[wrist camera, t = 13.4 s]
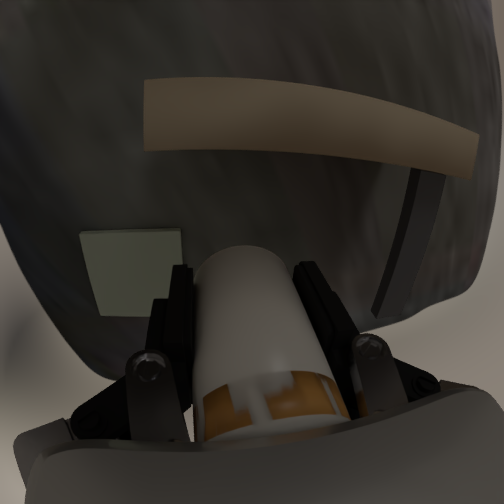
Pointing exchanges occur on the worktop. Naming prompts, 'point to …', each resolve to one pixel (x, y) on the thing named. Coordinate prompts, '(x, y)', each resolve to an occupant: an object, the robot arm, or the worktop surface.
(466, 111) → the worktop surface
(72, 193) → the worktop surface
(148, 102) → the stand
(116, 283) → the mat
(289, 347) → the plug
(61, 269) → the worktop surface
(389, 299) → the strap
